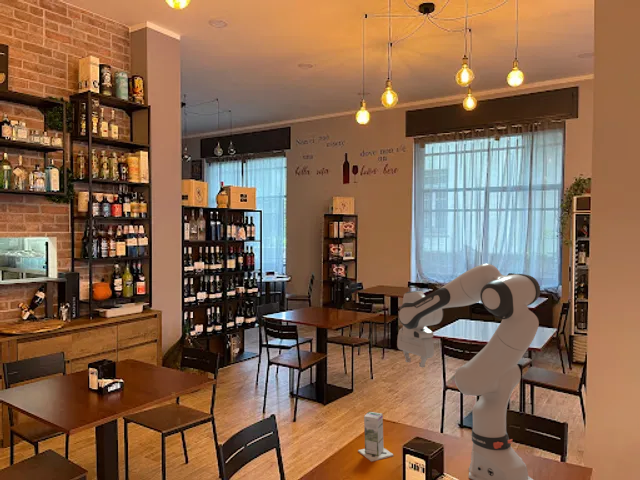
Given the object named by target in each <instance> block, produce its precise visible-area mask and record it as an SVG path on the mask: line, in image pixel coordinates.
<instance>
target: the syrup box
mask: <svg viewBox="0 0 640 480" xmlns="http://www.w3.org/2000/svg"><path fill="white" fill-rule="evenodd" d="M383 416H384V415H383V413H381V412H373V411H368V412H367V413H366V414H365V415H364V417H363V422H364V425H363V426H364V428H363V429H364V449H365V453H367V454H372V455H377V456H379V455H380V454H381V453H382V452H383V450H384V420H383V419H384V417H383Z"/></svg>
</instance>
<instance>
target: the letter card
mask: <svg viewBox="0 0 640 480" xmlns="http://www.w3.org/2000/svg"><path fill="white" fill-rule="evenodd" d="M357 452H358V453H359V454H360V455H362V456H364V457H365V458H366V459H367V460H369V461H370V462H371V463H372V462H376V461H379V460H383V459H388V458H392V457H394V456H395V455H394V453H392V452H390V451H389V450H388V449H387V448H386V447H385V448H384V450H383V452H382V453H381V454H380V455H379V456H377V455H372V454H367V453H365V448H362V449H358V450H357Z"/></svg>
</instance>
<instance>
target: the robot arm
mask: <svg viewBox="0 0 640 480" xmlns="http://www.w3.org/2000/svg"><path fill="white" fill-rule="evenodd" d="M540 295H541V286H540V283H539V282H538V280H537V279H536V278H535V277H534V276H533V275H532V276H531V275H529V274H525V273H524V274H523V273H512V272H509V273H508V274H507V275H503V274H502V273H501V272H500V270H499V269H498V268H497V266H495V265H494V264H490V263H482V264H480V265H477V266H474V267H472V268H470V269H468V270H466V271H465V272H464V273H462V274H460V275H459V276H457V277H455V278H454V279H453V280H451V281H449V282H448V283H446V284H444V285H443V286H441V287H440V288H438V289H436V290H435V291H433V292H431V293H429V294H427V295H425V293H424V292H423V291H422V290H413V291H407V292H405V293H403V298H402V305H401V306H400V308H399V311H398V320H399V322H400V323H401V325H402V327H400V329H399V330H398V334H397V342H396V343H397V344H396V346H397V349H398V350H400V351H402V353H403V356H404V358H405V359H404V360H405V361H404V362H406V363H411V362H412V358H411V357H410V354H412V355H416V356H418V357H420V362H419V363H418V364H419V367H420V368H422V369H423V368H425V367H426V362H427V359H429V358H433V356H434V354H435V346H434V345H435V344H434V339H433V337H434V332H433V331H432V330H431V329H430V328H428V326H434V325H438V324H440V323H441V322H442V321H443V318H444V309H449V308H459V307H460V308H461V307H466V306H471V305H474V304H477V303H479V302H481V303H482V305H483V306H484V308H485V309H486V310H487V311H488V312H489V313H490V314H492V315H493V316H494V318H496V319H498V320H501V322H500V324H499V325H498V327H497V328H496V330H495V332H494V333H493V335H492V336H491V338H490V339H489V340H488V342H487V344H486V345H485V346H484V347H483V348H482V349H481V350H480V351H479V352H478V353H477V354H476V355H474V356H473V357H472V358H471V359H470V360H469V361H467V362H465V363H464V364H463V365H461V366H460V367H458V368H457V369H456V371H455V372H454V382H455V386H456V388H457V389H458V390H459V392H460V393H461V394H463V395H465V396H477V397H478V396H479V399H478V400H477V401H476V402H475V403H474V405H473V406H472V412H471V413H472V428H471V434H470V435H471V441H472V446H471V447H472V449H471V456H470V457H471V458H470V464H469V467H468V471H469V472H468V478H469V479H471V480H534V479H533V478H532V477H531V476H529V472H528V467H527V464H526V463H525V462H524V459H523V457H520V456H519V454H518V453H517V452H516V451H515V449H514V448H513V447H512V446H511V443H513V438H511V439H510V438H509V435H508V432H507V410H508V409H507V408H508V405H509V401H510V398H511V396H512V394H513V391H514V389H515V388H516V386H517V385H518V384H519V383H520V381H521V379H522V375H521V374H522V372H521V368H520V366H519V365H518V363H520V361H521V359H522V358H523V357H524V355H525V353H526V352H527V350H529V348H530V346H531V344H532V343H533V341H534V338H535V337H536V334H537V332H538V329H539V324H540V322H539V318H538V316H537V315H536V314H535V313H534V312H533V311H531V310H530V309H529V307H528V306H530V305H532V304H533V303H535V302H536V301H537V300H538V298H540Z"/></svg>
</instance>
